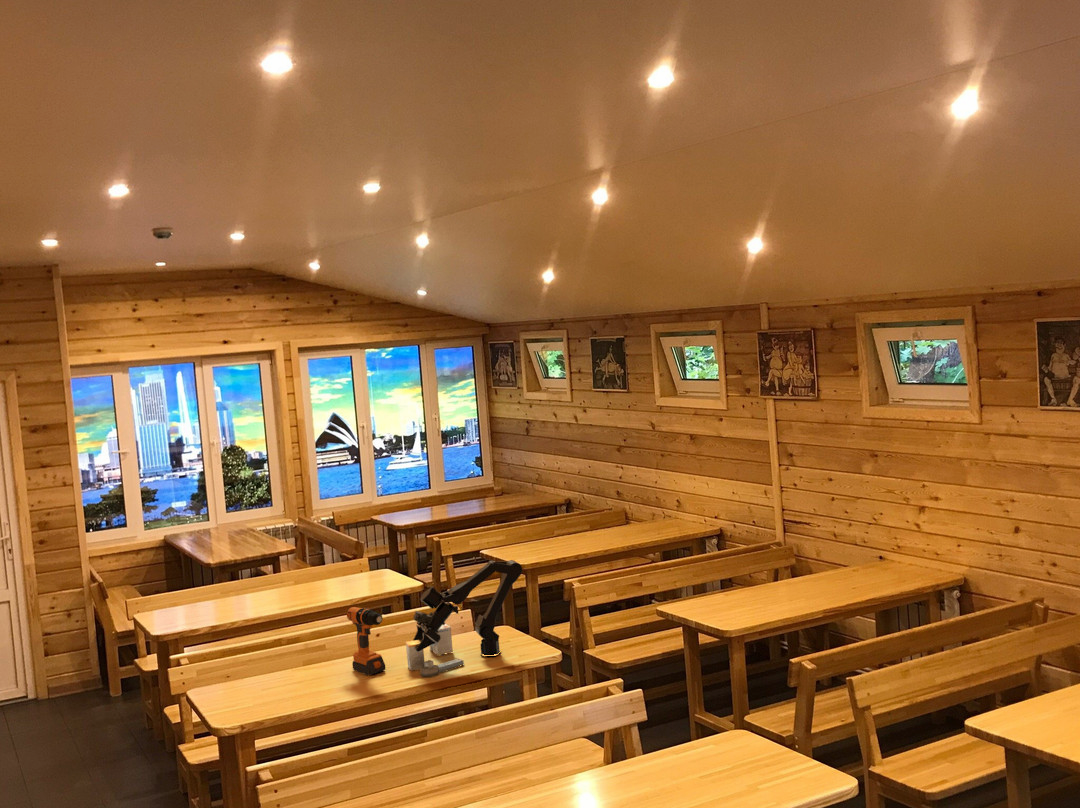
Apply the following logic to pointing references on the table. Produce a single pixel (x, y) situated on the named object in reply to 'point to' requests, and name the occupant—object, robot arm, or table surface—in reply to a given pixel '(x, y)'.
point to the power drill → (365, 641)
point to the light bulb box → (443, 641)
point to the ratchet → (438, 667)
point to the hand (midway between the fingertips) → (414, 648)
